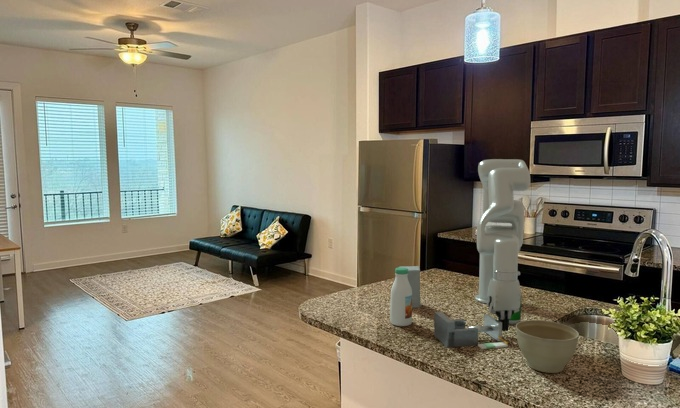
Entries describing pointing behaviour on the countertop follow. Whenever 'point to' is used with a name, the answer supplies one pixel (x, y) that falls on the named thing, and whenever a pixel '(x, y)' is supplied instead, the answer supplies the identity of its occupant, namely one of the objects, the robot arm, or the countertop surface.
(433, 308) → the countertop surface
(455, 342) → the bracket
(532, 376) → the countertop surface
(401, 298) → the milk bottle
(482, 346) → the strip
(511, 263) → the robot arm
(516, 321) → the soda can
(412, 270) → the skincare box
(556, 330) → the planter bowl
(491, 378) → the countertop surface
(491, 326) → the plunger
